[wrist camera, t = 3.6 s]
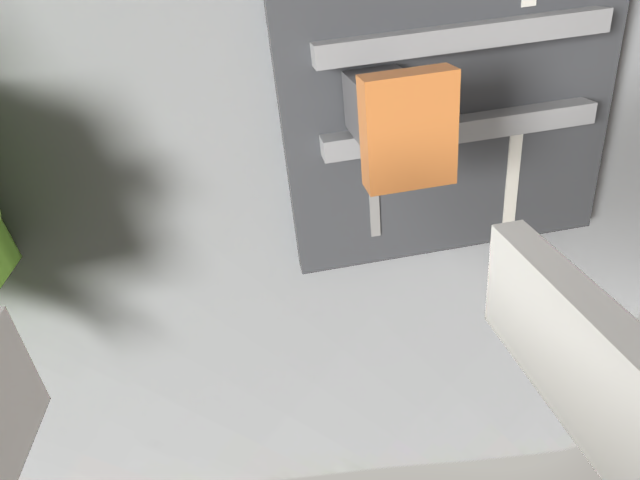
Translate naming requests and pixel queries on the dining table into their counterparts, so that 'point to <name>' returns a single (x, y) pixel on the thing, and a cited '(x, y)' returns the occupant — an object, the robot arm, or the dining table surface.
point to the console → (474, 118)
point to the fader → (404, 125)
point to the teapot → (7, 253)
